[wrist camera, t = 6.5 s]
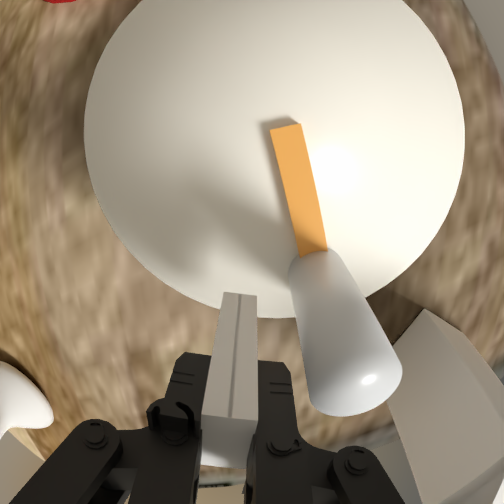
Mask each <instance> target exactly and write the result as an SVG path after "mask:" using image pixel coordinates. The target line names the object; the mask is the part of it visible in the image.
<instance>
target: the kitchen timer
mask: <svg viewBox="0 0 504 504" xmlns="http://www.w3.org/2000/svg"><path fill="white" fill-rule="evenodd" d="M44 1H47V2H51V3H64V2H73V1H76V0H44Z"/></svg>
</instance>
